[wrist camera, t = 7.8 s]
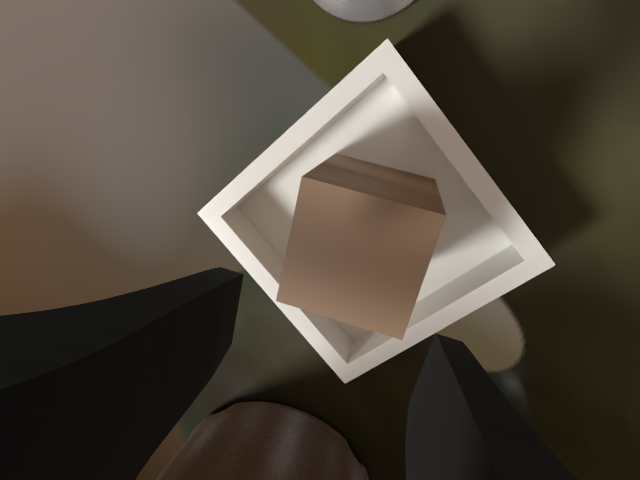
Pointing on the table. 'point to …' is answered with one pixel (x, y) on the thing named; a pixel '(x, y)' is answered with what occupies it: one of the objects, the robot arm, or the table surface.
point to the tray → (395, 152)
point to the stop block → (361, 243)
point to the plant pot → (264, 447)
